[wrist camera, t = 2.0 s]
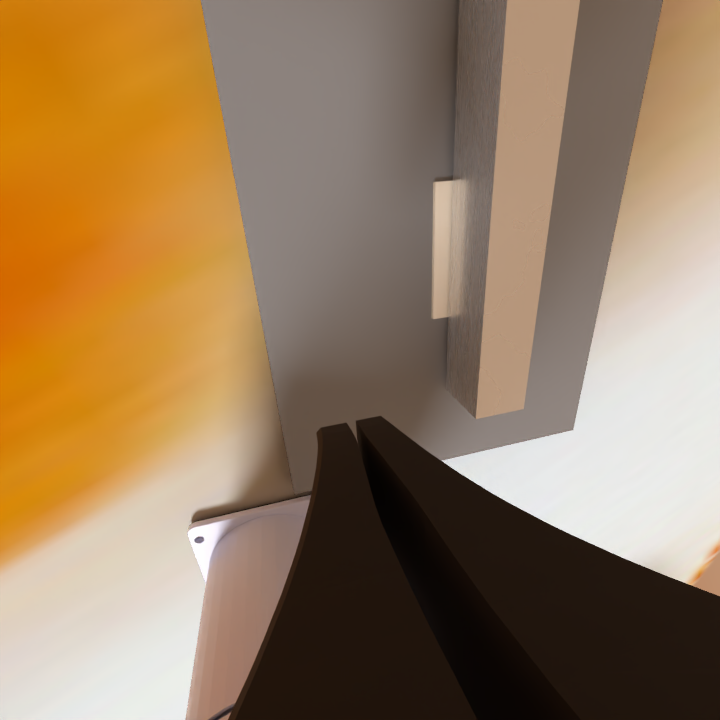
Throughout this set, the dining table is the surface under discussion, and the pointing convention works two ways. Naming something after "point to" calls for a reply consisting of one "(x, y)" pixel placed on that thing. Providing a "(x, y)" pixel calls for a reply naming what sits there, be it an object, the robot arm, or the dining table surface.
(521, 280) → the swing bar
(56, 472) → the dining table surface
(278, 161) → the label board
